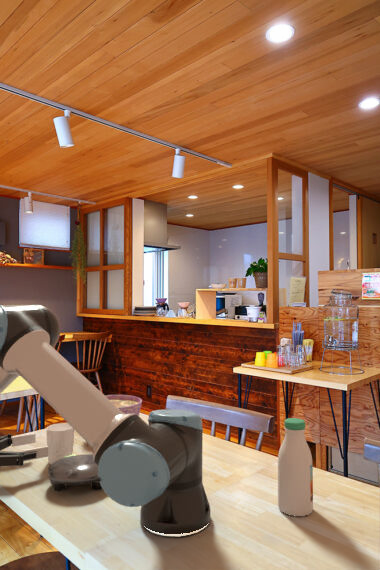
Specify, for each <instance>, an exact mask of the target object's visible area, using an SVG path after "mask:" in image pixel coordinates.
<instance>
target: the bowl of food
mask: <svg viewBox="0 0 380 570" xmlns="http://www.w3.org/2000/svg"><path fill="white" fill-rule="evenodd" d="M105 396H106V397H107V398H108V399H109V400H110V401H111V402H112V403H113V404H114V405H115V406H116V407H118V408H119V409H120V410H121V411H122V412H123V413H124V414H132V413H135V414H137V415H138V416H139V417H140V412H141V408H142V404H143V399H142V398H141V397H138V396H134V395H128V394H107V395H105Z"/></svg>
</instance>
